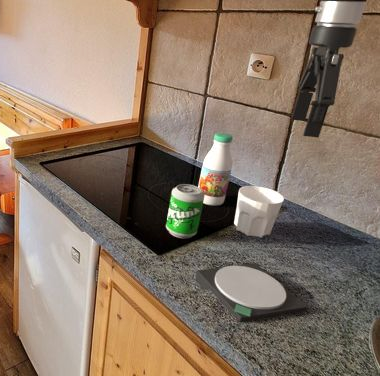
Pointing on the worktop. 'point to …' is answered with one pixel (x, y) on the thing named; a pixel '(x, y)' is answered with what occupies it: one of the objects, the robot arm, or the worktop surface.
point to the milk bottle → (216, 170)
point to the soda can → (185, 210)
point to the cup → (257, 210)
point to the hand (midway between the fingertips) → (303, 127)
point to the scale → (249, 292)
